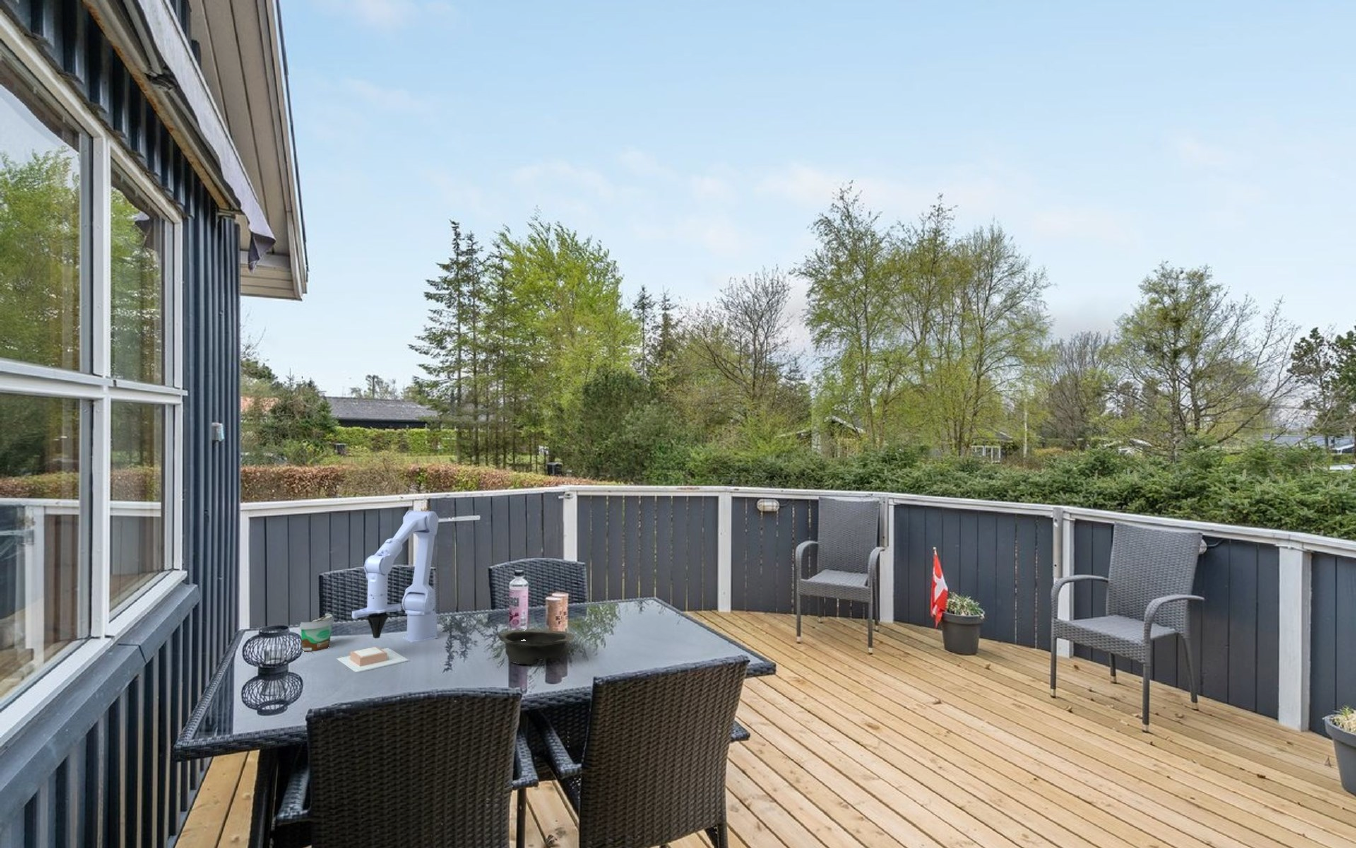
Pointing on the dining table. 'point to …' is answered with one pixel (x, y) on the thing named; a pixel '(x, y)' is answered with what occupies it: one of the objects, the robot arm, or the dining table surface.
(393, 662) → the mat
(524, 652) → the stone bowl
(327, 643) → the food container
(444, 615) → the dining table surface
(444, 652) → the dining table surface
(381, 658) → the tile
